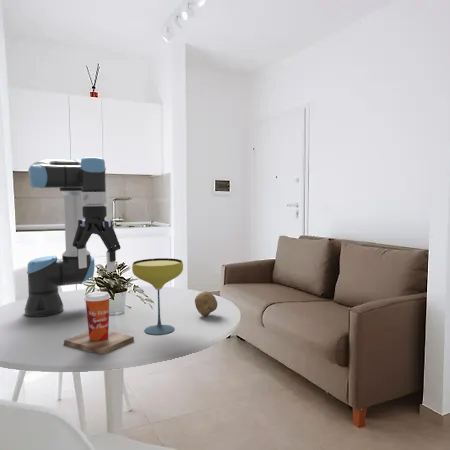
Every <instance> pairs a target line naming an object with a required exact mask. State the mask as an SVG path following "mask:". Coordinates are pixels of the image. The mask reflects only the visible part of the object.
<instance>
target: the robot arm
mask: <svg viewBox="0 0 450 450" xmlns="http://www.w3.org/2000/svg"><path fill="white" fill-rule="evenodd" d="M105 163H106V162H105V160H104V158H101V157H92V156H91V157H90V156H88V157H83V158H81V159H53V158H52V159H51V158H50V159H43V160H39V161H36V162H33V163H32V164H31V165H30V166H29V168H28V171H27V174H28V175H27V176H28V178H29V186H30V187H32V188H37V189H38V188H39V189H48V188H49V189H51V188H52V189H55V188H56V189H57V188H59V193H61V194H62V195H63V207H64V209H63V210H64V211H63V212H64V234H65V235H64V236H65V238H64V239H65V251H64V252H63V253H62V254H61V256H62V257H61V258H58V256H56V255H47V256H42V257H38V258H35V259H32V260H30V261H29V262H28V263H27V272H26V274H27V286H28V290H27V291H28V296H27V299H26V304H25V308H24V315H25V316H27V317H32V318H33V317H35V318H37V317H47V316H53V315H57V314H59V313H62V312H63V311H64V303H63V301H62V298H61V296H60V294H59V287H64V286H71V285H82V284H83V285H84V283H82V282H83V281H86V280H89V278H91V277H93V278H94V274H95V266H96V265H95V264H96V263H95V257H94V256H91V252H90V251H89V250H88V249H87V243H88V241H89V239H90V238H91V236H92V235H97V236H98V237H100V239H101V241H102V243H103V244H104V246H105V248H106V250H107V251H106V272H107V273H111V272H116V263H115V262H116V260H117V259H116V256H117V254H116V253H117V252H116V251H119V250H120V249H121V245H120V242H119V239H118V236H117V234H116V232H115V228H114V225H113V224H114V222H113V221H112V220H105V218H106V217H107V215H108V213H107V206H105V205H106V204H107V190H106V189H107V188H106V186H107V185H106V183H107V182H106V170H107V169H106V168H107V167H106V164H105Z"/></svg>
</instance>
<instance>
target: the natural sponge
mask: <svg viewBox="0 0 450 450" xmlns="http://www.w3.org/2000/svg"><path fill="white" fill-rule="evenodd" d="M194 305H195V308H196V310H197V312H198V313H199V314H200V315H201V316H202V317H208V316H209V315H210V314H211V313H212V312H214V311H216V310H217V309H218V301H217V299H216V297H215V295H214V294H213V293H212V292H209V291H202V292H199V293H198V294H197V295H196V296H195V298H194Z"/></svg>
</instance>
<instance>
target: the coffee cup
mask: <svg viewBox="0 0 450 450" xmlns="http://www.w3.org/2000/svg"><path fill="white" fill-rule="evenodd" d="M111 297H112V296H110V294H109V292H108V291H92V292H88V293H87V294H85V297H84V301H85V308H86V309H85V310H86V317H87V319H86V320H87V329H88V331H89V338H90V340H91V341H102V340H105V339H107V338H108V331H110V330H109V327H110V326H109V325H110V298H111Z"/></svg>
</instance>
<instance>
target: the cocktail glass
mask: <svg viewBox="0 0 450 450" xmlns="http://www.w3.org/2000/svg"><path fill="white" fill-rule="evenodd" d="M131 269H132V274H133V275H134V276H135V277H136V278H138V279H140V280H141V281H143V282H146V283H148V284H150V285H151V286H152V287H154V289H155V290H156V291H157V324H155V325H151V326H150V325H149V326H147V327H145V328H144V330H143V331H144V333H145V334H147V335H152V336H153V335H154V336H162V335H167V334H170V333H173V332H174V331H175V327H174V326H172V325H170V324H162V320H161V305H160V304H161V300H160V290H161V289H163V288H164V286H165V285H166V284H167V283H168V282H170V281H172V280H174V279H176V278H178V277H179V276H180V275H181V274H182V273H183V271H184V263H183V261H182V260H181V259H177V258H167V257H166V258H164V257H163V258H147V259H140V260H136V261H134V262H132V266H131Z"/></svg>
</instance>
